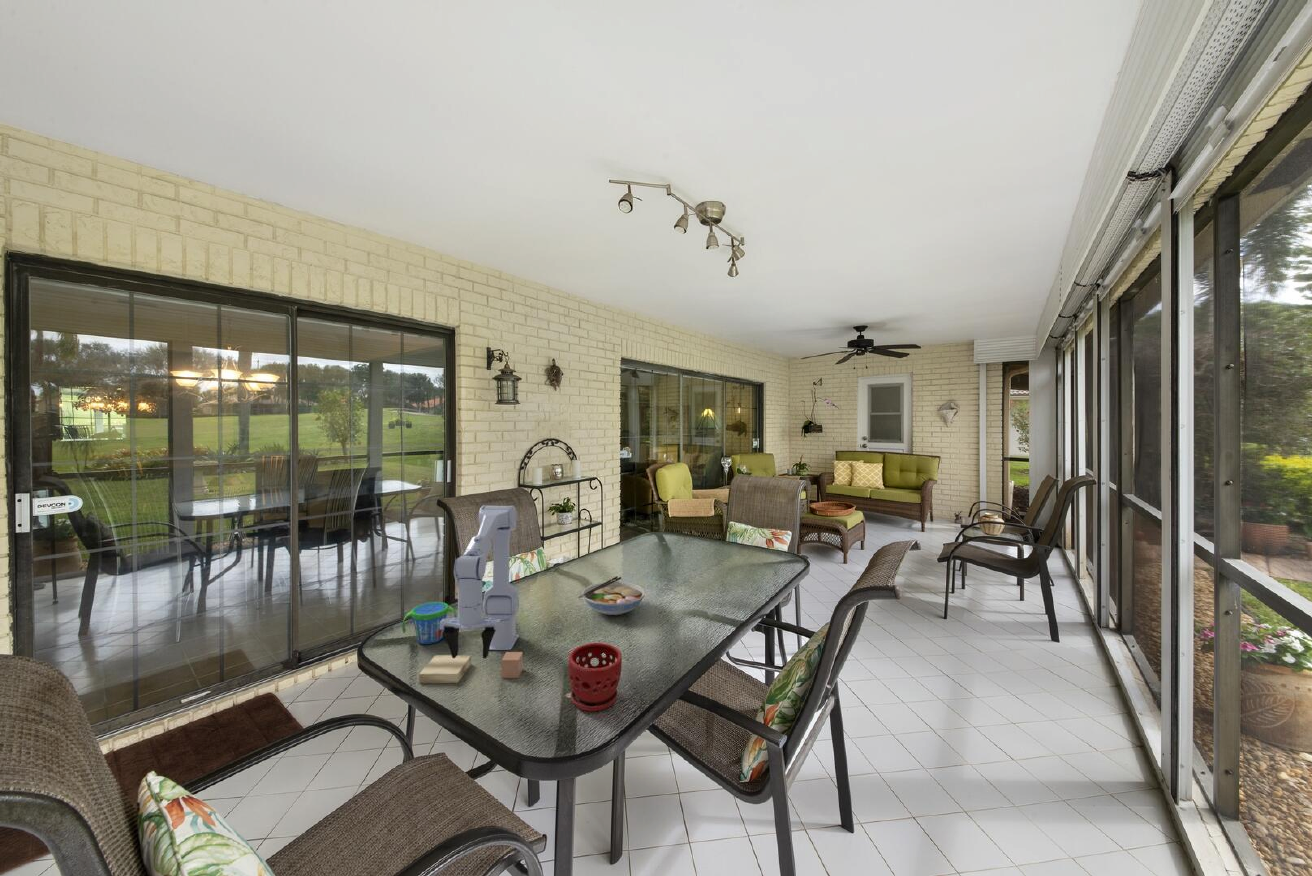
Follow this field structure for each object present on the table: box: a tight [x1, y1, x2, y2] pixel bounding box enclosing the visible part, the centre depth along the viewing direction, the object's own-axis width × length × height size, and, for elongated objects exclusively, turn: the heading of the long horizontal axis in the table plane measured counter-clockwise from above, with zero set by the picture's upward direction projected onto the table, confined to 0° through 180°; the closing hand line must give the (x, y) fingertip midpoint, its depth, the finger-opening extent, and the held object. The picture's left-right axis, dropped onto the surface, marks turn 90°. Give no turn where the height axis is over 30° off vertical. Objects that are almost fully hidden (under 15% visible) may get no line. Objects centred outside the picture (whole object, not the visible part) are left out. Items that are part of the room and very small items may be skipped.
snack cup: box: [401, 601, 458, 645], centre depth 154 cm, size 16×10×10 cm
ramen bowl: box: [577, 575, 646, 616], centre depth 178 cm, size 25×23×8 cm
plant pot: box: [568, 642, 623, 712], centre depth 122 cm, size 13×13×12 cm
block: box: [501, 651, 524, 679], centre depth 135 cm, size 4×4×5 cm
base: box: [418, 654, 472, 684], centre depth 134 cm, size 10×10×2 cm
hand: (470, 656), depth 124 cm, fingers open, 7 cm apart
